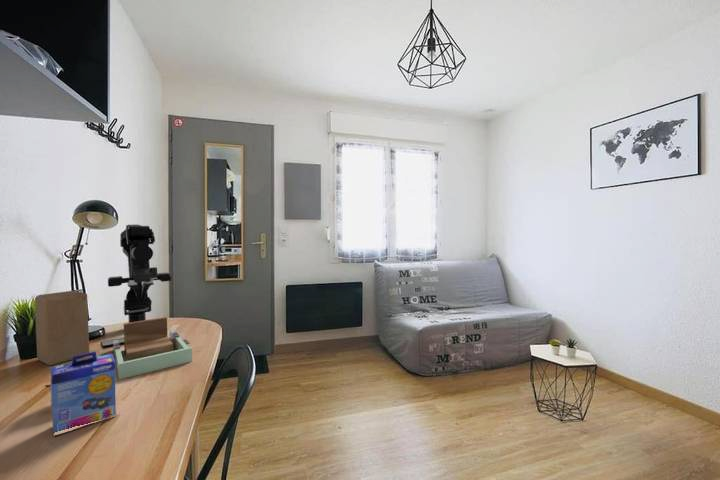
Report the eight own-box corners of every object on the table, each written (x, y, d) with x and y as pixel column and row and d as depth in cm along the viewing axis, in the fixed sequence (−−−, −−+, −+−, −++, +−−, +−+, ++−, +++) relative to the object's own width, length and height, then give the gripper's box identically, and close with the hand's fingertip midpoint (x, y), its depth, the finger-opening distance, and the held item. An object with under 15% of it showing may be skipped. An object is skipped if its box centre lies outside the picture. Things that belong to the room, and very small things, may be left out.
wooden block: (90, 355, 101) (88, 292, 100) (48, 367, 92) (45, 298, 91) (77, 349, 106) (75, 289, 105) (36, 360, 97) (33, 295, 97)
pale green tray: (102, 351, 103) (101, 339, 103) (182, 336, 118) (182, 325, 118) (104, 382, 82) (104, 367, 82) (203, 358, 97) (202, 345, 97)
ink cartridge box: (52, 439, 60) (49, 362, 59) (52, 426, 64) (49, 354, 63) (118, 417, 67) (115, 348, 66) (114, 406, 71) (112, 342, 70)
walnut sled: (124, 350, 105) (123, 323, 105) (166, 342, 113) (165, 316, 112) (127, 361, 96) (126, 332, 95) (173, 351, 103) (172, 324, 103)
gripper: (108, 263, 104) (110, 311, 104) (173, 259, 116) (174, 302, 117) (107, 261, 113) (108, 305, 113) (167, 258, 125) (169, 297, 125)
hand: (141, 302), depth 117 cm, fingers closed
